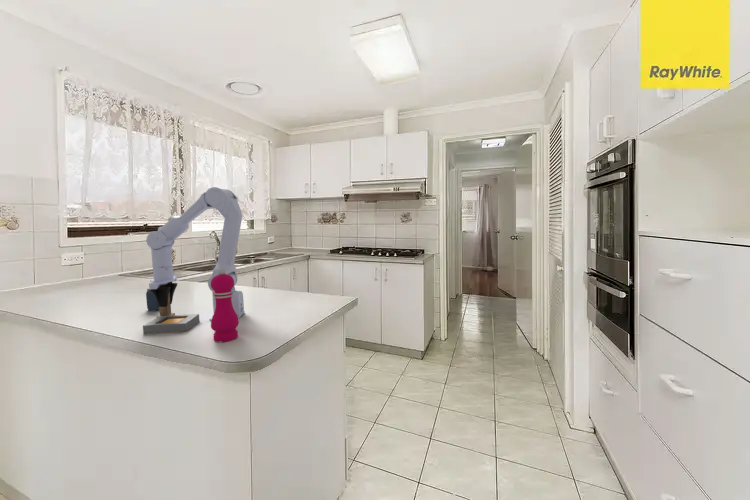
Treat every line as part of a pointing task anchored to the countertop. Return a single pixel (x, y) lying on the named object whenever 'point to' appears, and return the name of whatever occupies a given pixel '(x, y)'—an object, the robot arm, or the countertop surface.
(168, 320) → the button
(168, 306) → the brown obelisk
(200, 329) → the countertop surface
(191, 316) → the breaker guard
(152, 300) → the vaping device
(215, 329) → the pepper mill
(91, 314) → the countertop surface
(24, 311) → the countertop surface
